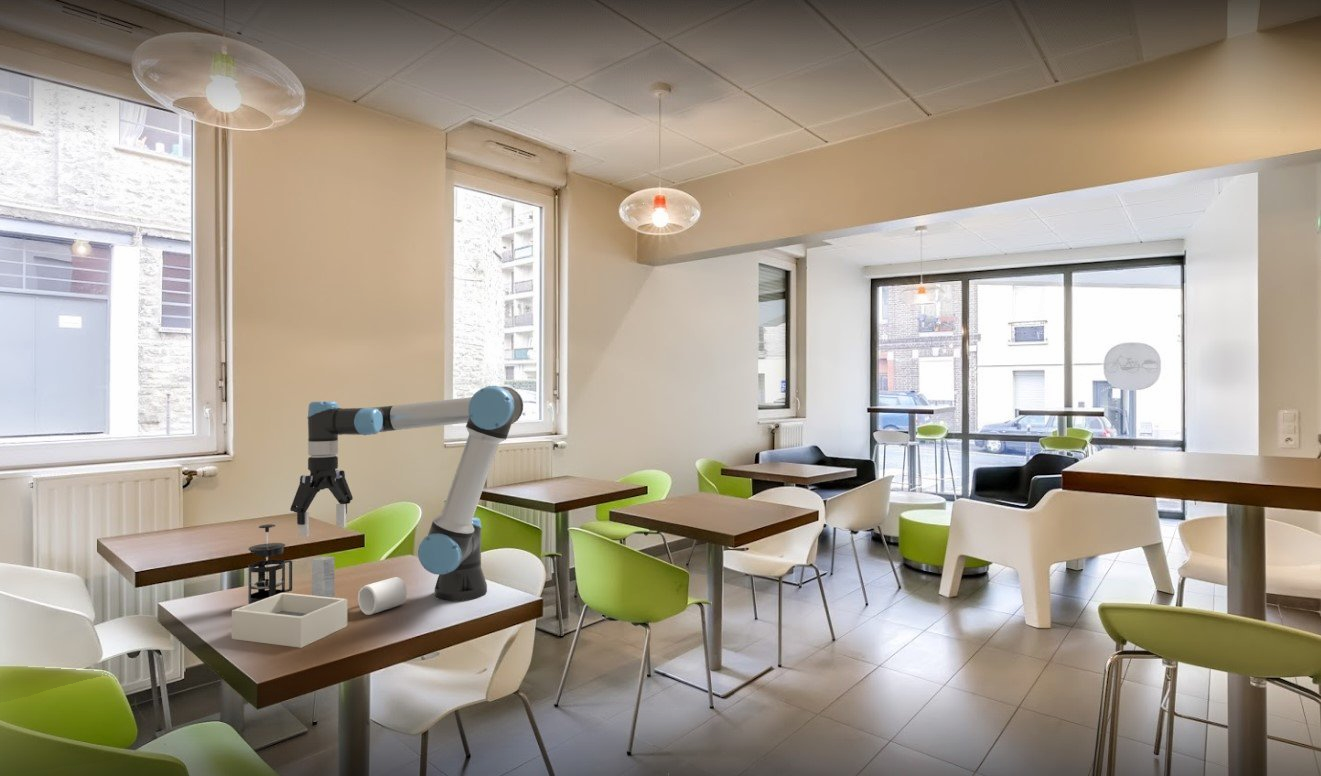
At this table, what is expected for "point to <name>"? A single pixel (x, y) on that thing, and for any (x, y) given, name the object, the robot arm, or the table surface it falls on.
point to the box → (289, 619)
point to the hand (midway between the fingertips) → (323, 531)
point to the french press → (267, 570)
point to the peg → (323, 576)
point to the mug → (382, 595)
